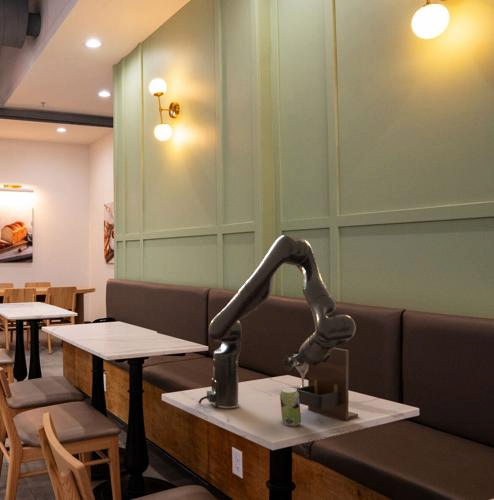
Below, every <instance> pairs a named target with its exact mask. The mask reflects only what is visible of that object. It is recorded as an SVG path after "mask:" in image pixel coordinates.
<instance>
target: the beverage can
mask: <svg viewBox="0 0 494 500" xmlns="http://www.w3.org/2000/svg"><path fill="white" fill-rule="evenodd" d="M279 401H280V409H281V420H282V422H283V423H284V424H285V425H287V426H291V427H294V426H298V425H299V424H300V423H302V415H301V404H300V401H299V393H298V392H297V389H295V387H291V386H285V387H282V388H281V389H280V392H279Z"/></svg>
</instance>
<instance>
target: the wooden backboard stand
mask: <svg viewBox="0 0 494 500" xmlns="http://www.w3.org/2000/svg"><path fill="white" fill-rule="evenodd" d="M349 353H350V352H349V349H343V348H338V347H334V349H333V350H332V351H331V352H330V356H331V357H330V358H329V359H328V360H327V361H326V362H321V363H319V364H317V365H316V366H315V367H312V366H311V365H309V364H308V372H307V373H308V375H307V376H308V377H307V385H306V386H305V385H304V386H305V387H300V386H299V387H300V388H295V387H294V388H295V389H297V392H298V393H299V401H300V405H303V406H306V407H307V410H308V411H311V412H315V413H318V414H322V415H323V416H324V415H325V416H328V417H331V418H335V419H338V420H342V421H344V422H346V421H347V422H348V421H350V420H353V419H357V418H359V413H356V412H352V411H350V410H349V377H350V376H349V375H350V374H349V368H350V367H349V363H350V362H349V361H350V360H349V357H350V356H349Z"/></svg>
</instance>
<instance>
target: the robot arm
mask: <svg viewBox="0 0 494 500" xmlns="http://www.w3.org/2000/svg"><path fill="white" fill-rule="evenodd" d="M284 264H285V265H289V266H290V265H291V266H295V267H296V268H297V269H298V270H299V272H300V273H301V275H302V278H303V280H302V294H303V297H304V299H305V300H306V303H307V305H308V307H309V308H310V311H311V313H312V317H313V323H314V324H313V325H314V330H315V331H314V332H313V333H312V334H311V335H310V336H309V337H307V338H306V340H305V341H304V342H303V343H302V345H301V346H300V347H299V351H298V352H299V354H297V355H295V356H293V355H292V354H288V355H287V356H286V357H285V358H284V359H283V360H282V361H281V362H282V364H283V367H284V369H285V371H287V372H290V371H292V370H293V369H294V368H296V367H299V366H301V365H304V364H309V365H311V366H312V367H315V366H316V365H317V364H319V363H321V362H326V361H327V360H328V359H329V358H330V357H331V356H330V352H331V351H332V350H333V349H334V348H337V347H338V346H340V345H342V344H344V343H347V342H348V341H351V339H352V338H353V337H354V335H355V334H356V331H357V330H356V329H357V326H356V322H355V320H354V319H353V317H351V316H349V315H347V314H336V315H331V314H332V313H333V312H334V311H335V310H336V309H337V304H336V301H335V299H334V298H333V296H332V294H331V293H330V291H329V289H328V287H327V285H326V283H325V282H324V279H323V277H322V274H321V271H320V269H319V266H318V263H317V260H316V257H315V254H314V251H313V248H312V246H311V245H310V243H309V241H307V240H306V239H304V238H302V237H298V236H295V235H290V234H282V235H280V236H278V238H276V239H275V241H274V242H273V243H272V244H271V246H270V247H269V249H268V251H267V252H266V254H265V255H264V257H263V258H262V260H261V262H260V263H259V265H258V266H257V267H256V269H255V270H254V271H253V273H252V274H251V275H250V276H249V277H248V278H247V280H246V281H245V282H244V283H243V284H242V286H241V287H240V288H239V290H238V291H237V293H236V294H234V296H233V297H232V298H231V300H230V301H229V302H228V303H227V305H226V306H224V308H222V310H221V311H220V312H219V313H217V315H215V316H214V318H213V319H212V320H211V321H210V323H209V325H208V335H209V337H210V339H212V341H214V342H217V343H221V345H220V346H219V347H218V348H217V349H215V350H214V351H213V354H212V355H213V357H212V358H213V363H212V364H213V372H212V374H213V375H212V378H211V390H207V391H206V395H205V396H202V397H201V398H199V400H198V404H201V403H202V401H204V400H205V399H206V400H207V401H208V402H209V403H211V405H212V406H214V408H216V409H217V408H218V409H225V410H226V409H227V410H231V409H237V408H239V358H240V354H241V350H242V338H243V337H242V335H243V333H242V332H243V330H242V324H241V322H240V320H241V319H243V318H245V317H247V316H248V315H250V314H252V313H254V312H255V311H257V310H259V308H261V306H262V305H263V304H264V303H265V302H266V301H267V300H268V298H269V297H270V296H271V294H272V291H273V283H274V275H275V274H276V272H277V271H278V269H280V267H281V266H282V265H284ZM297 361H298V362H299V364H298V362H297ZM295 366H296V367H295Z"/></svg>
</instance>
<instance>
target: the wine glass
mask: <svg viewBox="0 0 494 500" xmlns="http://www.w3.org/2000/svg"><path fill="white" fill-rule="evenodd" d="M292 353H293V354H292V357H293V356H295V355H297V354H299V351H294V352H292ZM297 362H298V361H297ZM298 364H299V362H298ZM294 368H295V369H296V370H297V371H298V372H299V374H300V377H301V386H295V387H294V388H300V387H305V377H306V374H307V373H308V364H304V365H301V366H299V367H296V366H295V367H294Z"/></svg>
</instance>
